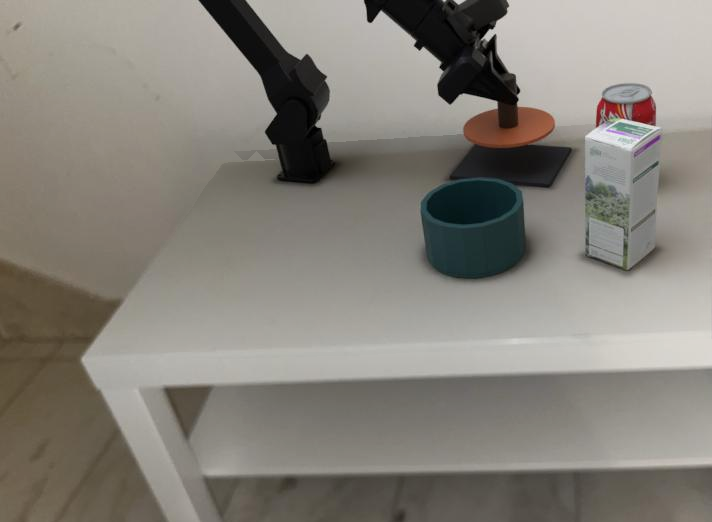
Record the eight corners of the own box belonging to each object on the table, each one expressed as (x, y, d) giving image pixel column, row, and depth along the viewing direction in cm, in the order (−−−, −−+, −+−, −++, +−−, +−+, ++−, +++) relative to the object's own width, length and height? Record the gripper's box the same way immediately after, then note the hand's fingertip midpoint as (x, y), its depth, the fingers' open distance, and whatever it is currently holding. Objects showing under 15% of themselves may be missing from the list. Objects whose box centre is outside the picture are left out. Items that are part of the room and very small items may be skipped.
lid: (480, 160, 97) (475, 102, 93) (452, 126, 107) (446, 72, 102) (569, 139, 99) (569, 81, 95) (534, 107, 109) (532, 53, 104)
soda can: (584, 188, 98) (584, 97, 91) (614, 166, 102) (617, 77, 94) (632, 202, 94) (636, 107, 87) (662, 179, 98) (669, 86, 90)
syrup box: (656, 248, 85) (665, 124, 76) (626, 273, 82) (631, 147, 73) (613, 233, 89) (616, 113, 80) (582, 257, 86) (582, 134, 77)
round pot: (412, 271, 88) (404, 221, 84) (449, 221, 96) (443, 173, 92) (506, 284, 83) (503, 232, 79) (537, 231, 91) (535, 181, 87)
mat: (449, 178, 105) (449, 175, 104) (477, 144, 112) (477, 141, 112) (549, 187, 99) (549, 183, 99) (571, 150, 107) (571, 147, 107)
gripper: (455, -16, 83) (559, 78, 88) (474, -56, 98) (563, 27, 102) (395, 61, 90) (495, 145, 94) (421, 13, 104) (507, 88, 109)
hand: (517, 98), depth 100 cm, fingers closed on lid, 2 cm apart
